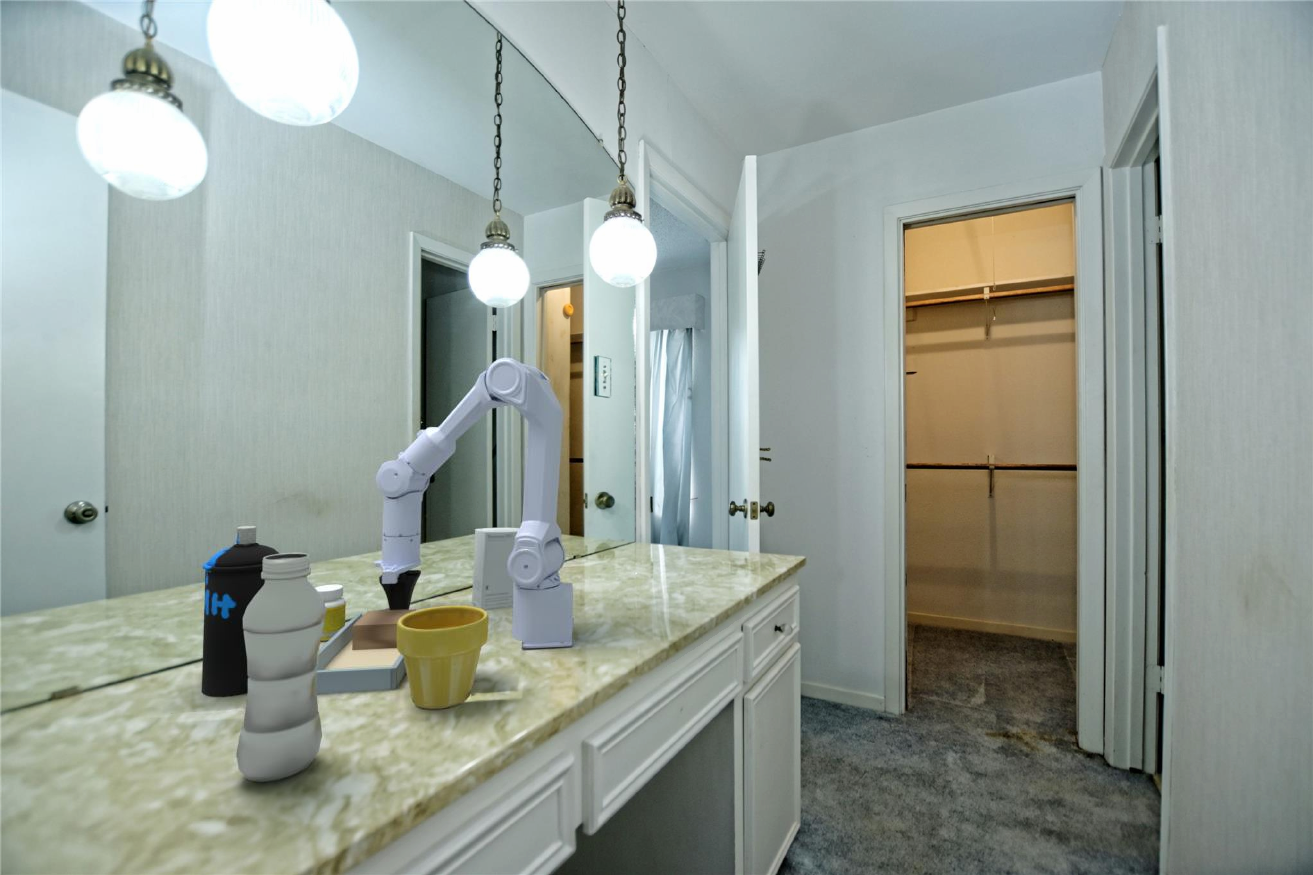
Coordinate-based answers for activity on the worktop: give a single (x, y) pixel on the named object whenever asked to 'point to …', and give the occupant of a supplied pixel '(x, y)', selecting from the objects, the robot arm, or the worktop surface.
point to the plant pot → (441, 652)
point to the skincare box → (493, 568)
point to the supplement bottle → (332, 610)
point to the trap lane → (356, 665)
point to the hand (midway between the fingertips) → (399, 617)
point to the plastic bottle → (282, 671)
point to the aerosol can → (230, 612)
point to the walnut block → (377, 629)
